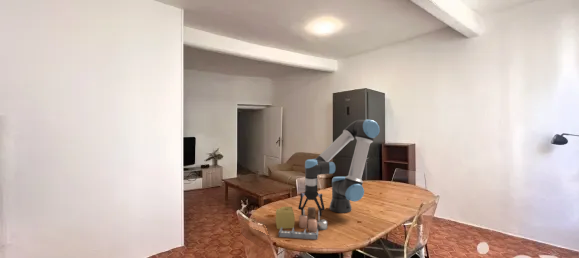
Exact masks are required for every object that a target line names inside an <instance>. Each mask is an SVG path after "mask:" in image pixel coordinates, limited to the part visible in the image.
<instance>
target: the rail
mask: <svg viewBox="0 0 579 258" xmlns="http://www.w3.org/2000/svg"><path fill="white" fill-rule="evenodd" d="M278 238H291V239H303V240H304V239H306V240H307V239H308V240H318V238H319V229H317V232H315V233H312V232H309V231H307V228H304V231H296V230H295V227H294V228H291V230H284V229H283V227H281V229H279V231H278Z"/></svg>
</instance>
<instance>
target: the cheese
mask: <svg viewBox="0 0 579 258" xmlns="http://www.w3.org/2000/svg"><path fill="white" fill-rule="evenodd" d="M275 224H276V229H277V230H280V229H281V227H283V230H284V229H285V230H286V229H293V228H294V229H295V224H296V223H295V212H294V210H293V207H292V206H281V207H280V208H276V211H275Z"/></svg>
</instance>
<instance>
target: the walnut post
mask: <svg viewBox="0 0 579 258" xmlns="http://www.w3.org/2000/svg"><path fill="white" fill-rule="evenodd" d="M307 216H308V220H309V219H316V207H311V206H308V207H307Z"/></svg>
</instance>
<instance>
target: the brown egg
mask: <svg viewBox="0 0 579 258" xmlns="http://www.w3.org/2000/svg"><path fill="white" fill-rule="evenodd" d="M298 227H299V228H300V229H308V215H307V214H305V215H301V214H300V215H299V216H298Z"/></svg>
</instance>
